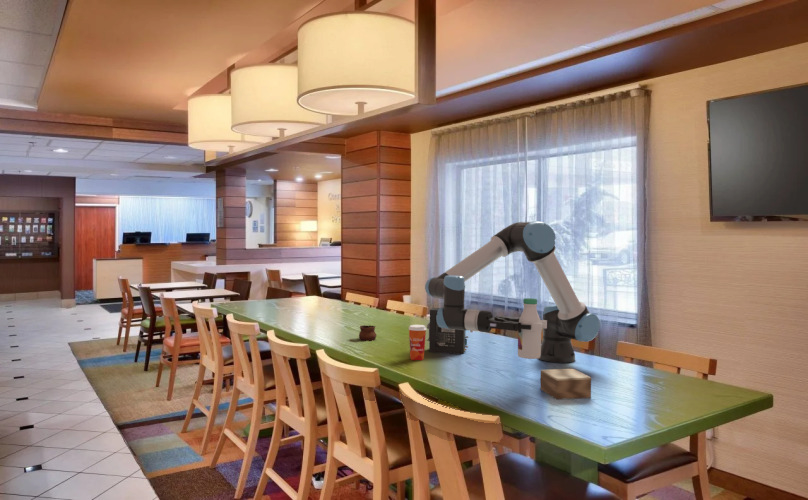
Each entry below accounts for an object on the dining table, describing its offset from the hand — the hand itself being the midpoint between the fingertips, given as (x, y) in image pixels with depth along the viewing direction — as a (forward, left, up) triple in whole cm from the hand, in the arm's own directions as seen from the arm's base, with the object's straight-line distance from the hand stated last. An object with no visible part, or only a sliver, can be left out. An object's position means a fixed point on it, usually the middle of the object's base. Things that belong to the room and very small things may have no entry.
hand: (544, 326), depth 191 cm
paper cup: (+32, -52, -22) cm, 65 cm away
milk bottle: (+4, -3, -11) cm, 12 cm away
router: (+15, -66, -22) cm, 72 cm away
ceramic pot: (+47, -99, -23) cm, 112 cm away
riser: (-6, +5, -22) cm, 23 cm away
